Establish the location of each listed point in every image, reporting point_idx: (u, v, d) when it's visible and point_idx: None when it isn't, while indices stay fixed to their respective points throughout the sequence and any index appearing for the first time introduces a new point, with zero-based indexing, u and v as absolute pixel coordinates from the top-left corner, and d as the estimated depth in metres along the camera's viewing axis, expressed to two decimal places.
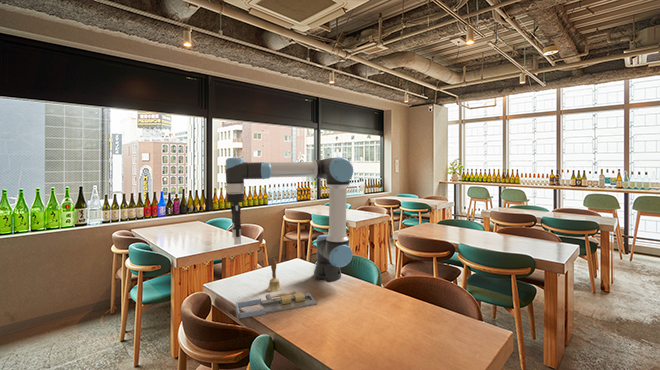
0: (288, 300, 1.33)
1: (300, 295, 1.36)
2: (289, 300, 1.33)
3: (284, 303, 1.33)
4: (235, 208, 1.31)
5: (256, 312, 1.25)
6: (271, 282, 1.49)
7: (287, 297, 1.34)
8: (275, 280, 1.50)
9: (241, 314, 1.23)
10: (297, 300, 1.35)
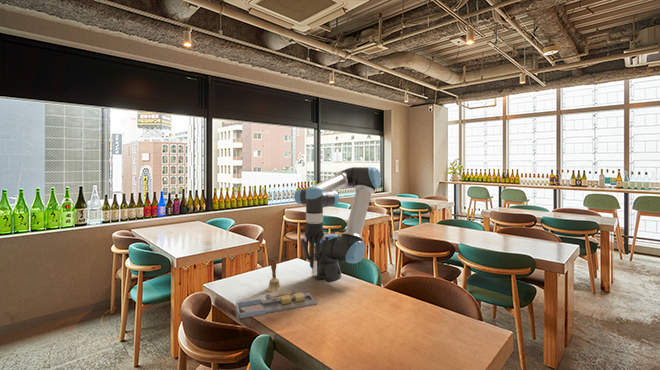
0: (288, 300, 1.33)
1: (300, 295, 1.36)
2: (289, 300, 1.33)
3: (284, 303, 1.33)
4: (301, 241, 1.36)
5: (256, 312, 1.25)
6: (271, 282, 1.49)
7: (287, 297, 1.34)
8: (275, 280, 1.50)
9: (241, 314, 1.23)
10: (297, 300, 1.35)
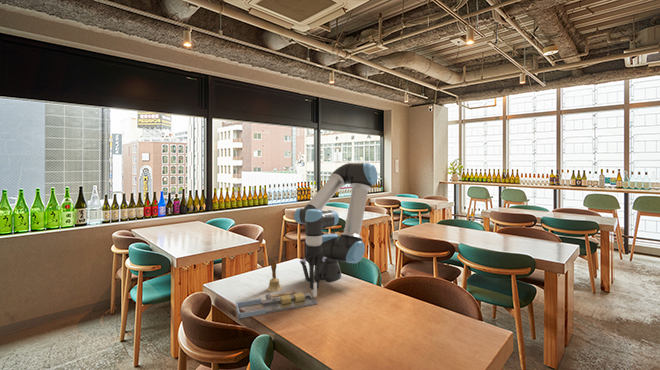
0: (288, 300, 1.33)
1: (300, 295, 1.36)
2: (289, 300, 1.33)
3: (284, 303, 1.33)
4: (301, 263, 1.37)
5: (256, 312, 1.25)
6: (271, 282, 1.49)
7: (287, 297, 1.34)
8: (275, 280, 1.50)
9: (241, 314, 1.23)
10: (297, 300, 1.35)
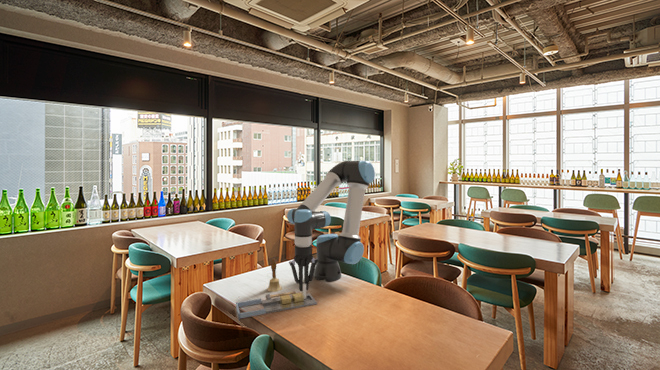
0: (288, 300, 1.33)
1: (299, 295, 1.36)
2: (289, 300, 1.33)
3: (284, 303, 1.33)
4: (290, 265, 1.35)
5: (256, 312, 1.25)
6: (271, 282, 1.49)
7: (287, 297, 1.34)
8: (275, 280, 1.50)
9: (241, 314, 1.23)
10: (296, 300, 1.34)
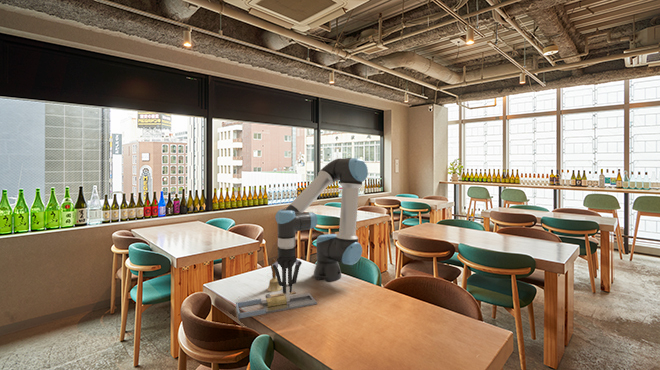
0: (274, 302, 1.31)
1: (282, 298, 1.33)
2: (275, 303, 1.31)
3: (270, 305, 1.30)
4: None
5: (256, 312, 1.25)
6: (271, 282, 1.49)
7: (273, 299, 1.32)
8: (275, 280, 1.50)
9: (241, 314, 1.23)
10: (279, 303, 1.32)
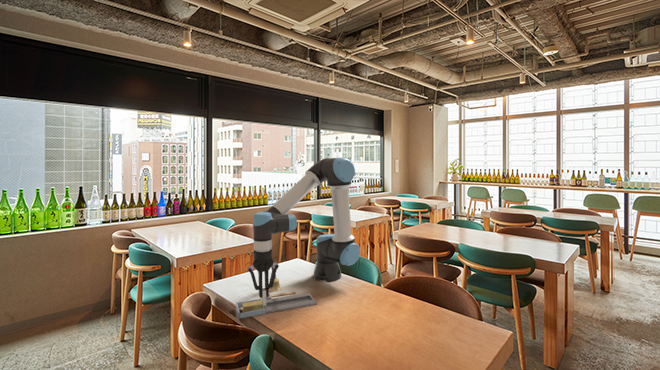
0: (250, 307, 1.27)
1: (258, 303, 1.30)
2: (250, 308, 1.27)
3: (245, 311, 1.27)
4: None
5: (256, 312, 1.25)
6: None
7: (249, 304, 1.28)
8: (275, 280, 1.50)
9: (241, 314, 1.23)
10: (255, 308, 1.28)
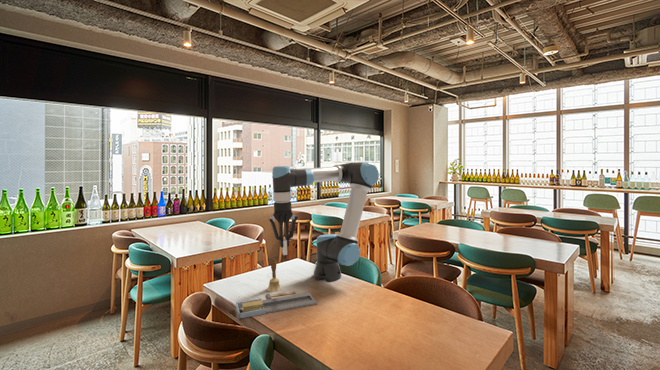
0: (249, 307, 1.27)
1: (258, 303, 1.30)
2: (250, 308, 1.27)
3: (245, 311, 1.27)
4: None
5: (256, 312, 1.25)
6: (271, 282, 1.49)
7: (249, 304, 1.28)
8: (275, 280, 1.50)
9: (241, 314, 1.23)
10: (255, 308, 1.28)
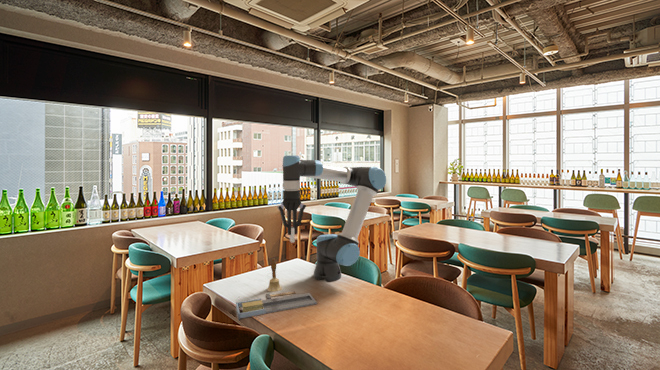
0: (249, 307, 1.27)
1: (258, 303, 1.30)
2: (250, 308, 1.27)
3: (245, 311, 1.27)
4: None
5: (256, 312, 1.25)
6: (271, 282, 1.49)
7: (249, 304, 1.28)
8: (275, 280, 1.50)
9: (241, 314, 1.23)
10: (255, 308, 1.28)
